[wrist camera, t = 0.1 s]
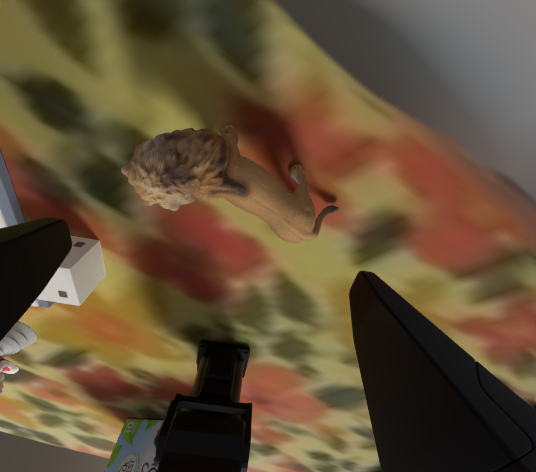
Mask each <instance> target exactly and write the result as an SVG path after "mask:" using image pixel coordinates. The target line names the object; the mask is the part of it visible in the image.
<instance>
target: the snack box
mask: <svg viewBox="0 0 536 472" xmlns="http://www.w3.org/2000/svg"><path fill="white" fill-rule="evenodd" d="M163 421H164V420H145V419H127V420H126V422H125V424H124V426H123V429H122V431H121V433H120V436H119V438H118V440H117V443H116V445H115V447H114V450H113V452H112V454H111V457H110V459H109V462H108V464H107V466H106V469H105V471H104V472H157V469H158V465H155V457H156V448H155V446H154V439H155V437H156V435H157V433H158V431H159V429H160V427H161V425H162V423H163Z"/></svg>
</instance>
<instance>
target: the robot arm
mask: <svg viewBox="0 0 536 472" xmlns="http://www.w3.org/2000/svg"><path fill="white" fill-rule="evenodd" d="M71 248H72V239H71V236H70V232H69V228H68V224H67V222H66V221H65V220H63V219H58V218H53V217H46V218H42V219H38V220H34V221H30V222H25V223H21V224H17V225H13V226H8V227H4V228H0V342H1V340H2V339H3V338H4V337H5V336H6V334H7V333H8V332H9V331H10V330H11V329H12V327H13V326H14V325H15V324H16V323H17V321H18V320H19V319H20V318H21V317H22V315H23V314H24V313H25V312H26V311H27V310H28V308H29V307H30V306H31V305H32V304H33V302H34V301H35V300H36V299H37V298H38V296H39V295H40V294H41V293H42V291H43V290H44V289H45V287H46V286H47V284H48V283H49V281H50V280H51V279H52V277H53V276H54V274H55V273H56V271H57V270H58V268H59V267H60V265H61V264H62V262H63V261H64V259H65V258H66V256H67V255H68V254H69V252H70V250H71ZM349 299H350V309H351V320H352V330H353V338H354V344H355V349H356V354H357V359H358V363H359V368H360V373H361V377H362V382H363V387H364V391H365V396H366V401H367V405H368V410H369V415H370V419H371V424H372V429H373V433H374V438H375V443H376V447H377V452H378V457H379V461H380V466H381V471H382V472H536V409H534V408H533V407H532V406H531V405H529V404H528V403H527V402H526V401H524V400H523V399H522V398H520V397H519V396H518V395H517V394H515V393H514V392H513V391H512V390H511V389H509V388H508V387H507V386H506V385H505V384H503V383H502V382H501V381H500V380H499V379H497V378H496V377H495V376H494V375H493V374H491V373H490V372H489V371H488V370H487V369H486V368H484V367H483V366H482V365H481V364H480V363H479V362H475V359H474V358H473V357H472V356H470V355H469V354H468V353H467V352H466V351H464V350H463V349H462V348H461V347H460V346H459V345H457V344H456V343H455V342H454V341H453V340H452V339H450V338H449V337H448V336H447V335H446V334H445V333H443V332H442V331H441V330H440V329H439V328H438V327H436V326H435V325H434V324H433V323H432V322H431V321H429V320H428V319H427V318H426V317H425V316H423V315H422V314H421V313H420V312H419V311H418V310H416V309H415V308H414V307H413V306H412V305H411V304H409V303H408V302H407V301H406V300H405V299H404V298H402V297H401V296H400V295H399V294H398V293H397V292H395V291H394V290H393V289H392V288H391V287H390V286H388V285H387V284H386V283H385V282H384V281H383V280H381V279H380V278H379V277H378V276H377V275H376V274H374V273H372V272H367V271H360V272H359V273H358V274H357V276H356V278H355V280H354V282H353V284H352V287H351V289H350V293H349ZM249 355H250V348H248V347H242V346H235V345H228V344H222V343H215V342H208V341H201V342H200V343H199V351H198V366H197V375H196V379H195V382H194V386H193V390H192V393H191V396H187V395H182V394H179V393H177V394H176V397H175V399H174V400H172V401H171V402H170V405H169V408H168V411H167V414H166V417H165V419H164V421H163V423H162V425H161V427H160V429H159V431H158V433H157V435H156V437H155V439H154V446H155V448H156V457H155V465H158V469H157V472H247V467H248V460H249V452H250V441H251V418H252V403H240V402H239V401H240V393H241V385H242V378H243V377H244V375H245V371H246V367H247V363H248V359H249Z"/></svg>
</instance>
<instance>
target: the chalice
mask: <svg viewBox="0 0 536 472" xmlns="http://www.w3.org/2000/svg"><path fill="white" fill-rule="evenodd" d="M36 340H37V336H36V334H35V332H34V331H33V330H32V329H31V328H29V327H28V326H26V325H25V324H23V323H21V322H18V321H17V323H16V324H15V325H14V326H13V327H12V329H11V330H10V331H9V332H8V333H7V334H6V336H5V337H4V338H3V339H2V340H1V342H0V356H1V355H3V354H4V355H10V354H14V353H17V352H18V351H20V350H21V349H23V348H25V347H27V345H30V344H32V343H34V342H36Z"/></svg>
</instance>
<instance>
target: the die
mask: <svg viewBox="0 0 536 472" xmlns="http://www.w3.org/2000/svg"><path fill="white" fill-rule="evenodd" d="M70 236H71V235H70ZM71 239H72V248H71V250H70V252H69V254H68V255H67V256H66V258H65V259H64V261H63V262H62V264H61V265H60V267H59V268H58V270H57V271H56V273H55V274H54V276H53V277H52V279H51V280H50V281H49V283H48V284H47V286H46V287H45V289H44V290H43V291H42V293H41V294H40V295H39V296H38V298H37V299H39V300H45V301H52V302H58V303H65V304H72V305H78V306H80V305H81V304H82V303H83V302H84V301H85V299H86V298H87V297H88V296H89V295H90V293H91V292H92V291H93V290H94V289H95V288H96V286H97V285H98V284H99V283H100V282H101V280H102V279H103V278H104V277H105V276H106V270H105V265H104V260H103V255H102V249H101V244H100V240H94V239H88V238H82V237H76V236H71Z"/></svg>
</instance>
